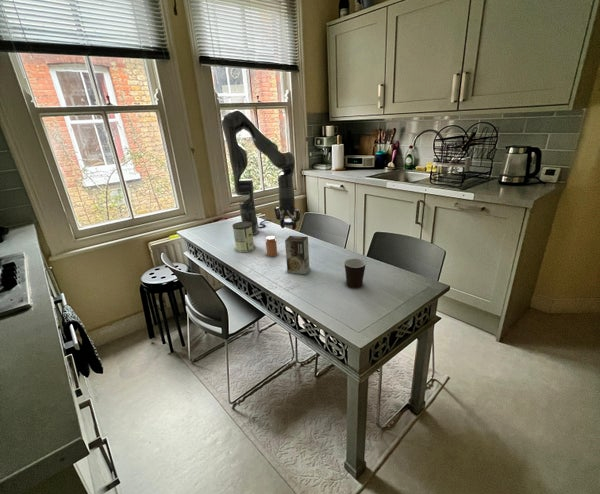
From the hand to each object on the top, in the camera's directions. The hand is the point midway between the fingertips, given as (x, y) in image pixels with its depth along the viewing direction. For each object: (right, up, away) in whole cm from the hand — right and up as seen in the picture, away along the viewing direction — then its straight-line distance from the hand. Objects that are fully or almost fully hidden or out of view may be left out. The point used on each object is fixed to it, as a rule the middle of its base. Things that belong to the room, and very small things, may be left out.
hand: (288, 228), depth 159 cm
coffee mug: (+29, -26, -25) cm, 47 cm away
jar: (-9, -13, +6) cm, 17 cm away
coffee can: (-25, -10, +15) cm, 31 cm away
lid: (0, +4, -1) cm, 4 cm away
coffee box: (+5, -21, -13) cm, 25 cm away
